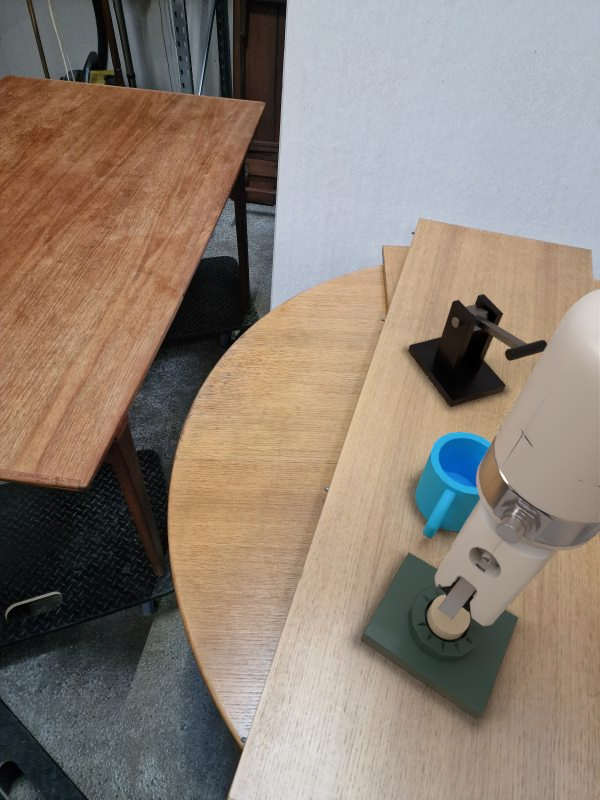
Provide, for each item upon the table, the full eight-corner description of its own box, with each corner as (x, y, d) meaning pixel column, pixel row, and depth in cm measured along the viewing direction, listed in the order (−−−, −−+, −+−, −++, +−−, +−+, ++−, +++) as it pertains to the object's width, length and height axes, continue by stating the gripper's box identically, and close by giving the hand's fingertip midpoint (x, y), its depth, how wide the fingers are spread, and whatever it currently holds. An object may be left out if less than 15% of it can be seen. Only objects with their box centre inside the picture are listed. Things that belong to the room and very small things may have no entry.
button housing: (510, 624, 53) (525, 610, 50) (475, 718, 47) (489, 709, 44) (404, 560, 57) (412, 544, 54) (360, 640, 51) (365, 627, 48)
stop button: (470, 615, 49) (476, 608, 48) (456, 648, 47) (461, 642, 46) (436, 593, 51) (440, 586, 49) (420, 625, 49) (424, 618, 47)
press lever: (545, 356, 62) (549, 339, 61) (511, 366, 61) (515, 348, 59) (481, 318, 71) (483, 302, 70) (450, 325, 70) (452, 309, 69)
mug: (432, 460, 66) (449, 420, 59) (493, 493, 63) (517, 455, 57) (387, 530, 59) (400, 493, 53) (453, 571, 56) (475, 537, 50)
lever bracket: (503, 391, 74) (534, 328, 65) (450, 406, 72) (474, 344, 63) (457, 337, 81) (480, 274, 72) (407, 350, 79) (424, 287, 70)
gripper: (548, 619, 25) (448, 698, 39) (654, 446, 33) (538, 564, 47) (423, 520, 29) (371, 626, 42) (545, 383, 36) (467, 511, 50)
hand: (459, 593), depth 45 cm, fingers closed
